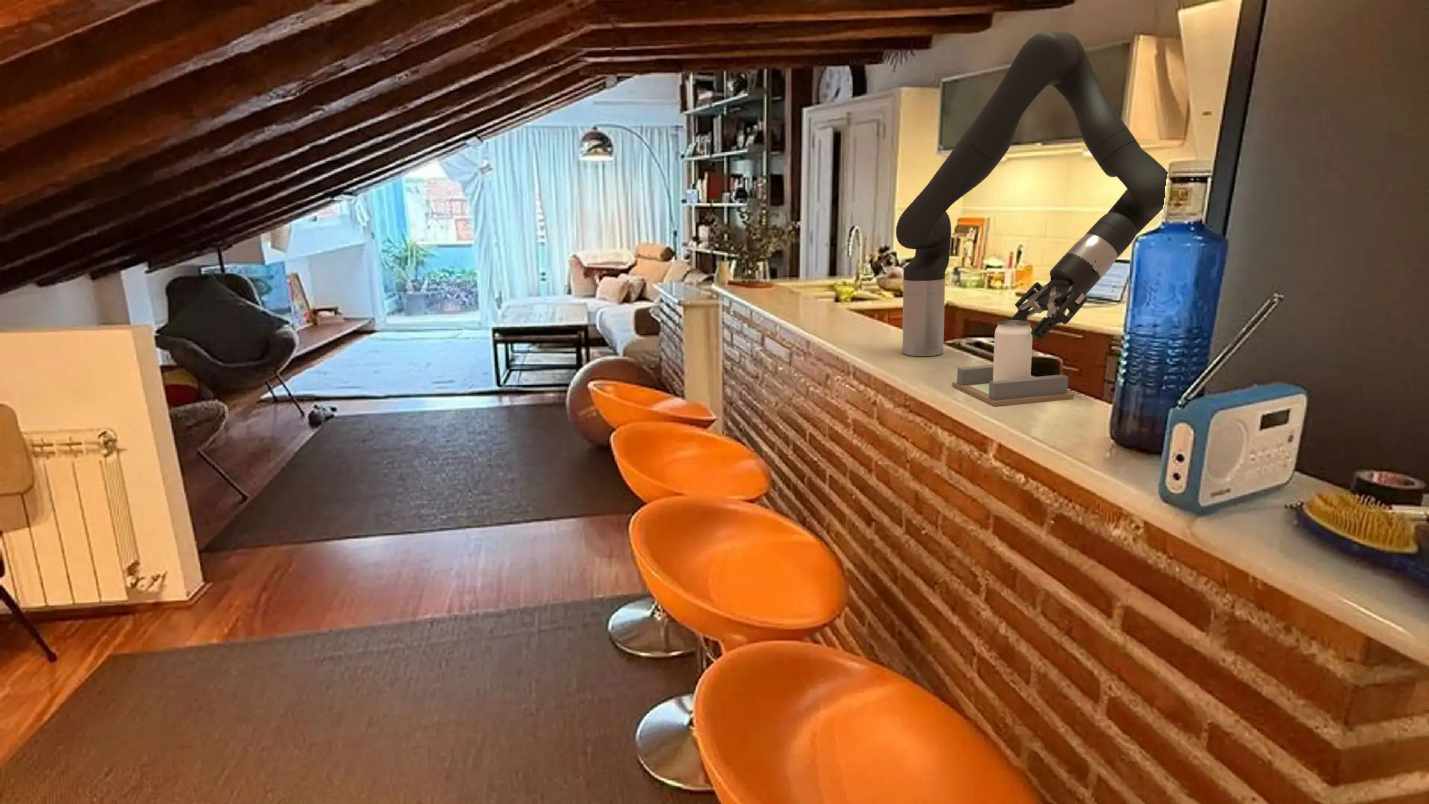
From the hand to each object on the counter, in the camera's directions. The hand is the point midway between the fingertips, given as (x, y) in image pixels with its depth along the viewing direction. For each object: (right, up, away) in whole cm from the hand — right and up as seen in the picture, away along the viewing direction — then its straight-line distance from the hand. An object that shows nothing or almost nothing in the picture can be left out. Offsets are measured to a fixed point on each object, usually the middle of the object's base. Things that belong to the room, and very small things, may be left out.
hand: (1021, 333), depth 144 cm
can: (-1, -10, +2) cm, 10 cm away
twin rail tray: (-1, -11, +2) cm, 11 cm away
